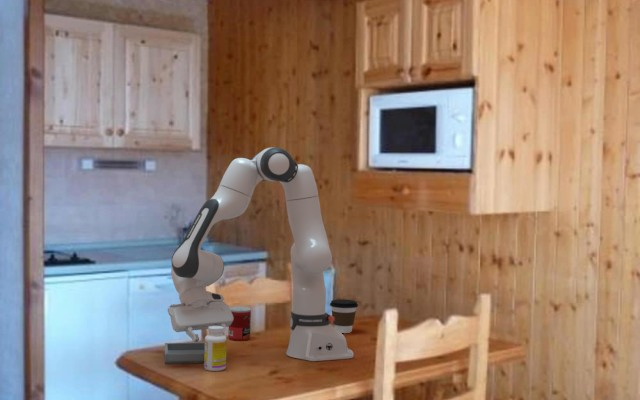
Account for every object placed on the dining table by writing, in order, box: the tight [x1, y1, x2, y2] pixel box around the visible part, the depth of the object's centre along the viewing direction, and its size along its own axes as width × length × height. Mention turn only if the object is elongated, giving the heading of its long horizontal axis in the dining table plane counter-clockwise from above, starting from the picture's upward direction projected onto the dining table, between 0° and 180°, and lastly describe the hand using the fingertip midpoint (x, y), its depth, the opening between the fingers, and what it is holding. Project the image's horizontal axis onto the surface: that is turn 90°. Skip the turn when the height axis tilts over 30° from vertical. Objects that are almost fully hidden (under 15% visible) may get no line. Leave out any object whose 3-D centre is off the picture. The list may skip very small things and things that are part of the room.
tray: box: [164, 341, 205, 365], centre depth 241 cm, size 18×16×3 cm
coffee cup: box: [329, 298, 359, 334], centre depth 287 cm, size 11×11×12 cm
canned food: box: [227, 306, 252, 342], centre depth 270 cm, size 8×8×11 cm
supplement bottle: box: [203, 326, 228, 372], centre depth 228 cm, size 7×7×13 cm
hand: (210, 339), depth 230 cm, fingers open, 8 cm apart
